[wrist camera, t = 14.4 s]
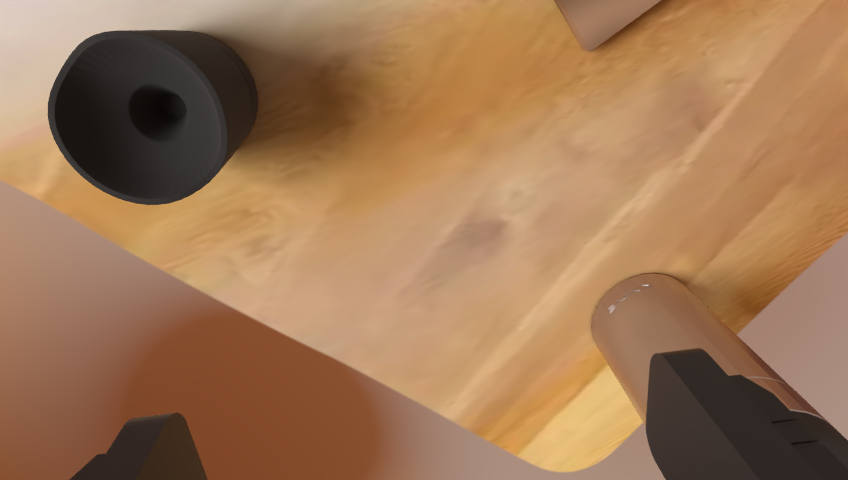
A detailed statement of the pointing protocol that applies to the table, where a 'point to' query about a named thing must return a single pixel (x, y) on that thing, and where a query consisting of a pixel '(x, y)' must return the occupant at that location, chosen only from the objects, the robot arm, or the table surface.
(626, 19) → the base
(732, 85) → the table surface
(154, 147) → the pen holder
